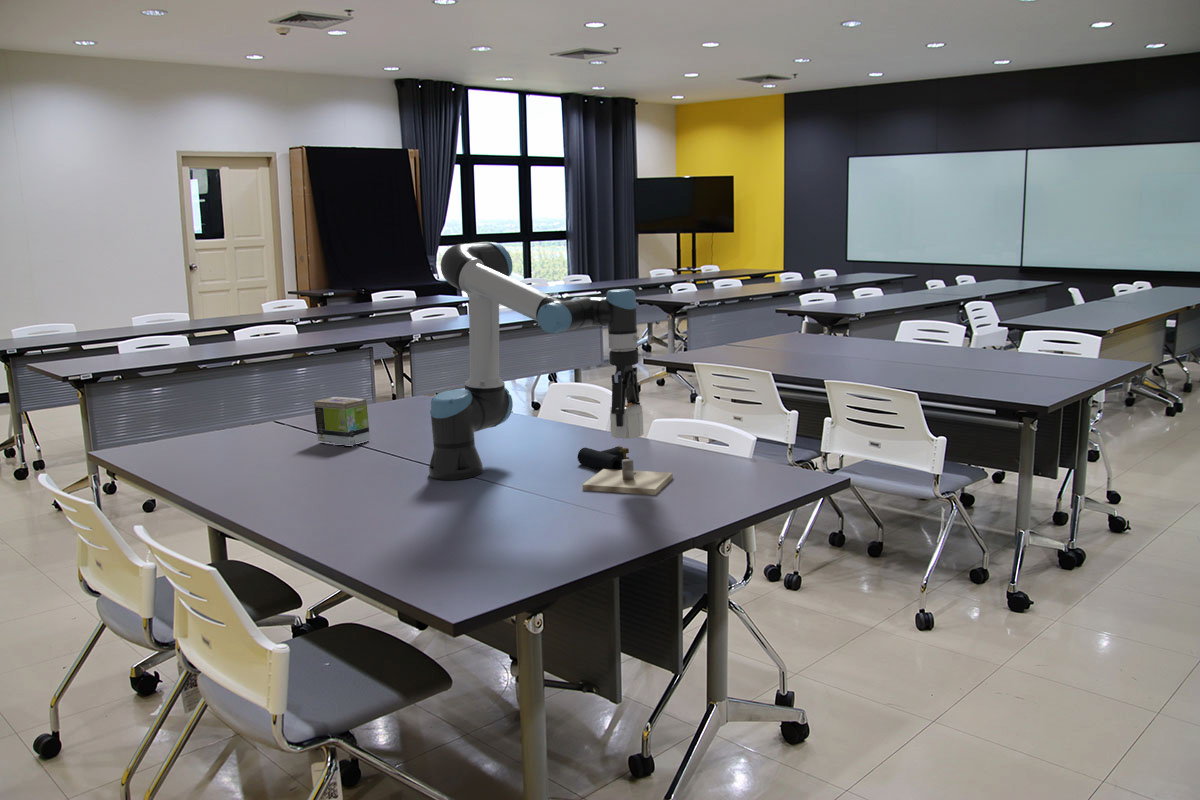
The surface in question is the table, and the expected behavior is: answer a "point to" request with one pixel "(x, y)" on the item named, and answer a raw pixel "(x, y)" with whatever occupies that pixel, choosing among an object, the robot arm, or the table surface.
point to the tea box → (342, 420)
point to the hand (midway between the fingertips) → (627, 434)
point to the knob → (630, 421)
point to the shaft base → (628, 480)
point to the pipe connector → (603, 458)
